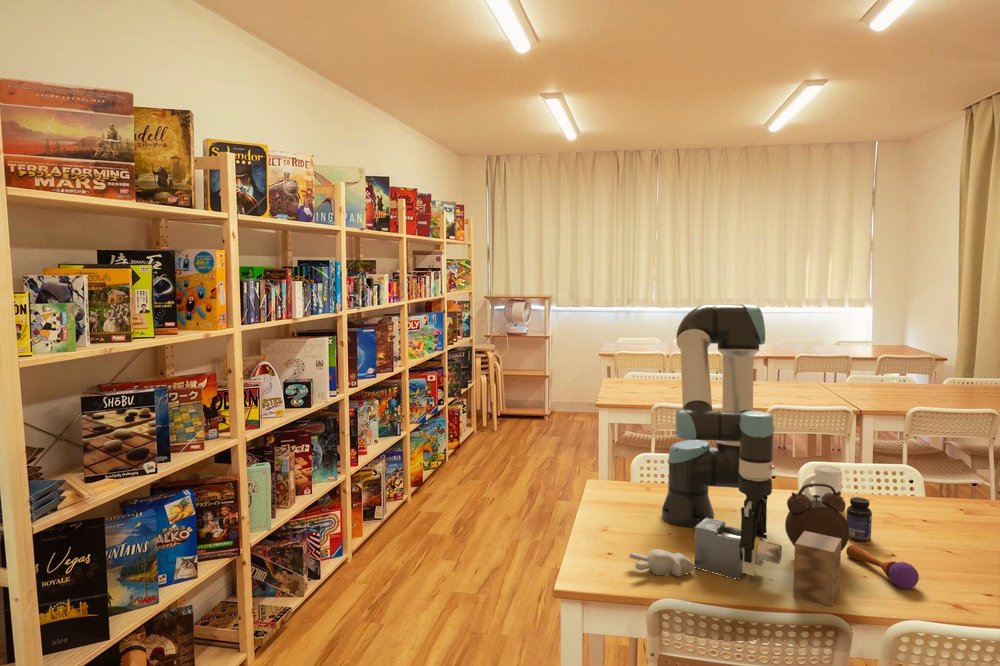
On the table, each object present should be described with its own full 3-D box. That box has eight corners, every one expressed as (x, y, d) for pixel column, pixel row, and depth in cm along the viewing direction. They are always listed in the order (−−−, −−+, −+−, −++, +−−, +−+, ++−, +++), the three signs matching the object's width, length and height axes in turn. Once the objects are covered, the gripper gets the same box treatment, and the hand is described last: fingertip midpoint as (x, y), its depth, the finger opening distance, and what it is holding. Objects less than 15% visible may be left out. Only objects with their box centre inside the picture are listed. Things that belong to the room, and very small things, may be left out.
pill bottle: (874, 543, 180) (875, 504, 179) (849, 541, 181) (851, 503, 180) (866, 534, 186) (868, 496, 185) (842, 533, 187) (844, 495, 186)
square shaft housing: (694, 568, 166) (695, 526, 165) (705, 557, 172) (705, 517, 171) (738, 580, 159) (739, 537, 158) (748, 568, 165) (749, 527, 164)
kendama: (863, 540, 173) (926, 568, 153) (860, 563, 173) (923, 593, 153) (843, 538, 172) (904, 565, 152) (840, 561, 171) (901, 591, 152)
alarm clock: (836, 553, 174) (839, 479, 172) (849, 565, 167) (852, 488, 165) (780, 552, 175) (782, 478, 173) (790, 564, 168) (793, 487, 166)
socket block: (793, 596, 151) (795, 543, 150) (802, 581, 158) (804, 530, 157) (831, 606, 146) (833, 552, 145) (839, 590, 154) (841, 538, 152)
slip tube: (696, 551, 166) (696, 528, 165) (704, 543, 171) (705, 521, 170) (775, 571, 155) (776, 546, 154) (782, 562, 159) (782, 538, 159)
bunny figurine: (699, 563, 160) (639, 559, 158) (696, 584, 160) (636, 579, 159) (685, 547, 169) (628, 543, 168) (683, 566, 169) (626, 562, 168)
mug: (795, 501, 213) (796, 464, 212) (832, 500, 214) (833, 464, 212) (807, 510, 205) (809, 472, 204) (845, 509, 205) (847, 472, 204)
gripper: (760, 489, 149) (757, 588, 151) (782, 469, 164) (779, 559, 166) (726, 483, 153) (724, 579, 155) (751, 464, 168) (748, 551, 171)
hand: (752, 568), depth 161 cm, fingers closed on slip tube, 6 cm apart
